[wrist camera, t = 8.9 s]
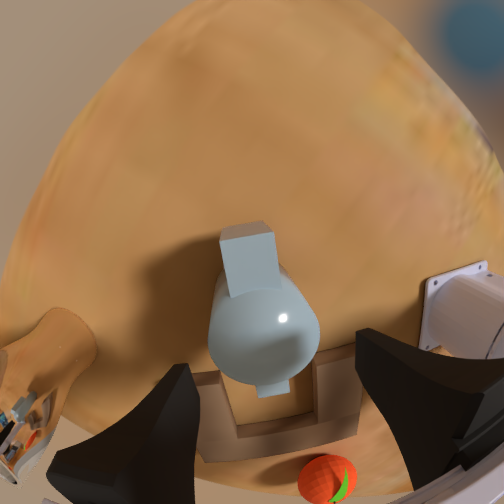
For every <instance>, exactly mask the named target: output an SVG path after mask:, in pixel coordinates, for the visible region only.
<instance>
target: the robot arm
mask: <svg viewBox="0 0 504 504" xmlns="http://www.w3.org/2000/svg"><path fill="white" fill-rule="evenodd" d="M434 281H435V283H434ZM440 345H441V346H442V347H443V348H444V349H446V350H447V351H448V352H449V353H450V354H452V355H453V356H454V357H450V356H445V355H440V354H436V353H432V352H428V350H431V349H433V348H435V347H437V346H440ZM355 370H356V372H357V374H358V376H359V378H360V381H361V383H362V385H363V386H364V388H365V389H366V391H367V392H368V394H369V396H370V397H371V399H372V400H373V402H374V403H375V405H376V406H377V408H378V409H379V411H380V412H381V414H382V415H383V417H384V418H385V420H386V421H387V423H388V425H389V427H390V429H391V431H392V433H393V435H394V437H395V440H396V442H397V444H398V446H399V449H400V451H401V454H402V456H403V459H404V461H405V464H406V467H407V470H408V472H409V476H410V479H411V482H412V486H413V489H414V492H412V493H410V494H408V495H406V496H404V497H401V498H399V499H397V500H395V501H393V502H390V503H388V504H494V503H495V502H496V501H497V500H498V499H499V498H500V497H501V496H503V495H504V277H503V276H500V275H498V274H496V273H493V272H491V271H488V270H487V261H485V260H482V261H479V262H476V263H474V264H471V265H468V266H465V267H462V268H459V269H456V270H453V271H450V272H447V273H444V274H440V275H437V276H434V277H431V278H429V279H428V280H427V281H426V286H425V300H424V310H423V319H422V327H421V335H420V341H419V348H416V347H413V346H411V345H408V344H405V343H403V342H401V341H398V340H396V339H394V338H391V337H389V336H387V335H385V334H382V333H380V332H378V331H375V330H373V329H370V328H366V329H362V330H359V331H356V345H355ZM199 423H200V396H199V393H198V390H197V387H196V385H195V382H194V379H193V376H192V374H191V371H190V368H189V365H188V363H184V364H174V365H173V366H172V367H171V369H170V370H169V371H168V372H167V373H166V375H165V376H164V377H163V378H162V379H161V380H160V382H159V383H158V384H157V385H156V386H155V387H154V388H153V390H152V391H151V392H150V393H149V394H148V395H147V396H146V397H145V398H144V399H143V400H142V401H141V402H140V403H139V404H138V405H137V406H136V407H135V408H134V409H133V410H132V411H130V412H129V413H128V414H127V415H126V416H124V417H123V418H122V419H121V420H119V421H118V422H116V423H115V424H113V425H112V426H110V427H109V428H107V429H106V430H104V431H103V432H101V433H99V434H97V435H96V436H94V437H92V438H90V439H88V440H86V441H83V442H81V443H79V444H76V445H74V446H71V447H68V448H65V449H62V450H59V451H57V452H56V454H55V456H54V459H53V460H52V463H51V464H50V466H49V468H48V470H47V473H46V477H47V479H48V481H49V482H50V484H51V485H52V486H53V487H54V488H55V489H56V490H58V491H59V492H60V493H61V494H62V495H63V496H65V497H66V498H67V499H68V500H69V501H70V502H72V503H73V504H195V494H194V493H195V491H194V460H195V452H196V445H197V438H198V431H199ZM42 504H58V503H56V502H53V501H51V500H48V499H46V498H44V499H43V501H42Z"/></svg>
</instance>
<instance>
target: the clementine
mask: <svg viewBox="0 0 504 504" xmlns="http://www.w3.org/2000/svg"><path fill="white" fill-rule="evenodd" d="M356 480H357V473H356V469H355V468H354V466H353V465H352V463H351V462H350V461H348V460H347V459H345V458H343V457H341V456H337V455H325V456H320V457H318V458H315V459H313V460H312V461H310V462H309V463H308V464H306V465H305V467H304V468H303V469H302V471H301V472H300V474H299V478H298V489H299V491H300V494H301V495H302V496H303V497H304V498H305V499H306V500H307V501H309V502H311V503H313V504H335V503H338V502H340V501H342V500H344V499H345V498H346V497H348V495H349V494H350V493H351V492H352V491H353V489H354V487H355V485H356Z"/></svg>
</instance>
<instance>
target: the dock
mask: <svg viewBox="0 0 504 504" xmlns="http://www.w3.org/2000/svg"><path fill="white" fill-rule="evenodd" d="M355 345H356V343H352V344H349V345H345V346H341V347H337V348H334V349H330V350H326V351H322V352H317V353H315V355H314V357H313V358H312V360H311V364H312V381H313V403H314V412H310V413H306V414H302V415H297V416H293V417H288V418H283V419H277V420H272V421H266V422H260V423H253V424H246V425H239V426H237V425H236V422H235V419H234V416H233V412H232V409H231V406H230V403H229V399H228V396H227V393H226V389H225V386H224V383H223V379H222V376H221V372H220V370H219V371H211V372H202V373H193V374H192V376H193V379H194V382H195V385H196V387H197V390H198V393H199V396H200V423H199V431H198V438H197V445H196V447H197V449H198V451H199V453H200V455H201V457H202V458H203V460H204V462H205V463H211V462H226V461H237V460H246V459H254V458H261V457H268V456H274V455H279V454H285V453H290V452H295V451H299V450H304V449H308V448H312V447H316V446H320V445H324V444H328V443H331V442H335V441H338V440H342V439H345V438H348V437H351V436H354V435H357V429H358V422H359V415H360V408H361V399H362V390H363V385H362V383H361V381H360V378H359V376H358V374H357V372H356V370H355Z"/></svg>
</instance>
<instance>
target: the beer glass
mask: <svg viewBox="0 0 504 504" xmlns="http://www.w3.org/2000/svg"><path fill="white" fill-rule="evenodd" d="M96 353H97V347H96V342H95V339H94V336H93V334H92V332H91V331H90V329H89V327H88V326H87V325H86V324H85V322H84V321H83V320H82V319H81V318H80V317H78V316H77V315H76V314H74V313H73V312H71V311H69V310H66V309H63V308H55V309H52V310H50V311H49V312H47V313H46V314H45V316H44V317H43V318H42V320H41V321H40V323H39V324H38V325H37V327H36V328H35V329H34V330H33V331H32V332H31V333H29V334H28V335H26V336H25V337H23V338H21V339H19V340H17V341H15V342H13V343H11V344H9V345H7V346H5V347H3V348H1V349H0V478H1V479H2V480H4V481H5V482H7V483H8V484H10V485H12V486H14V487H17V488H22V485H23V483H24V482H25V480H26V479H27V477H28V476H29V474H30V473H31V471H32V470H33V468H34V467H35V465H36V464H37V462H38V461H39V459H40V457H41V456H42V454H43V453H44V451H45V449H46V447H47V446H48V444H49V442H50V440H51V438H52V436H53V434H54V431H55V428H56V426H57V424H58V421H59V418H60V415H61V412H62V410H63V407H64V404H65V401H66V398H67V395H68V393H69V390H70V388H71V386H72V384H73V382H74V380H75V379H76V378H77V377H78V375H79V374H80V373H82V372H83V371H84V370H85V369H87V368H88V367H89V366H90V365H91V364H92V363H93V362H94V360H95V357H96Z"/></svg>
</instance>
